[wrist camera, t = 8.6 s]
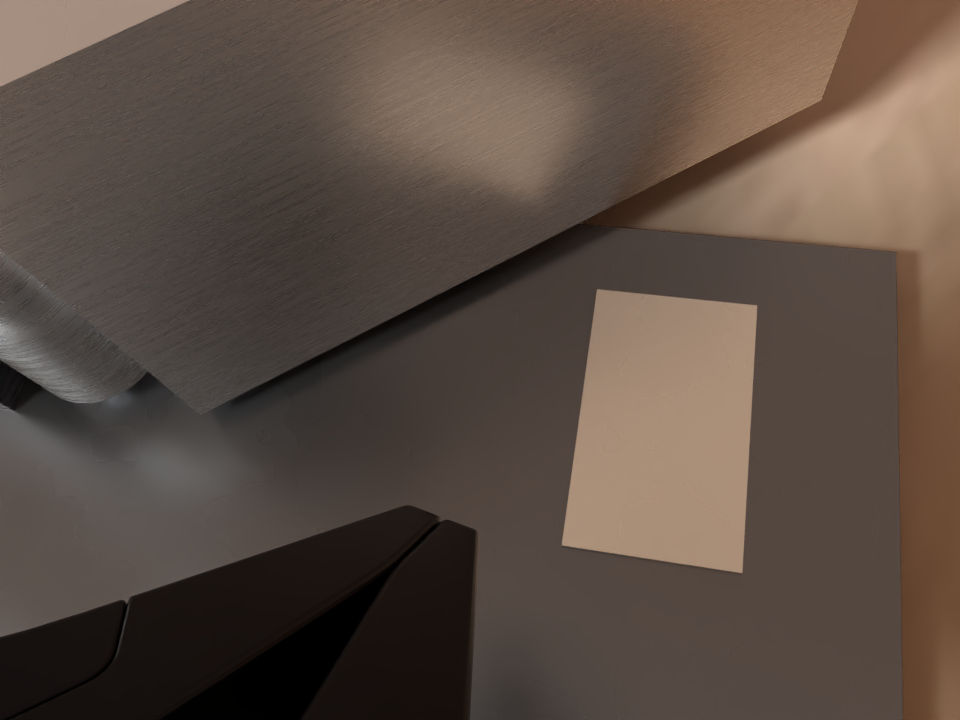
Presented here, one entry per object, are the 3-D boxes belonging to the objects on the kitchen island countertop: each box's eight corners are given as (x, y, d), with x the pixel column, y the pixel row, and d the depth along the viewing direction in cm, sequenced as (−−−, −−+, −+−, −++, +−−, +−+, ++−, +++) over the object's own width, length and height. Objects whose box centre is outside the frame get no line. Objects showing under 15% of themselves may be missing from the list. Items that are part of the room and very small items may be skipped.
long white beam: (821, 100, 17) (997, -369, 10) (71, 480, 16) (-380, 258, 8) (684, -48, 19) (746, -528, 12) (8, 275, 18) (-397, -48, 10)
